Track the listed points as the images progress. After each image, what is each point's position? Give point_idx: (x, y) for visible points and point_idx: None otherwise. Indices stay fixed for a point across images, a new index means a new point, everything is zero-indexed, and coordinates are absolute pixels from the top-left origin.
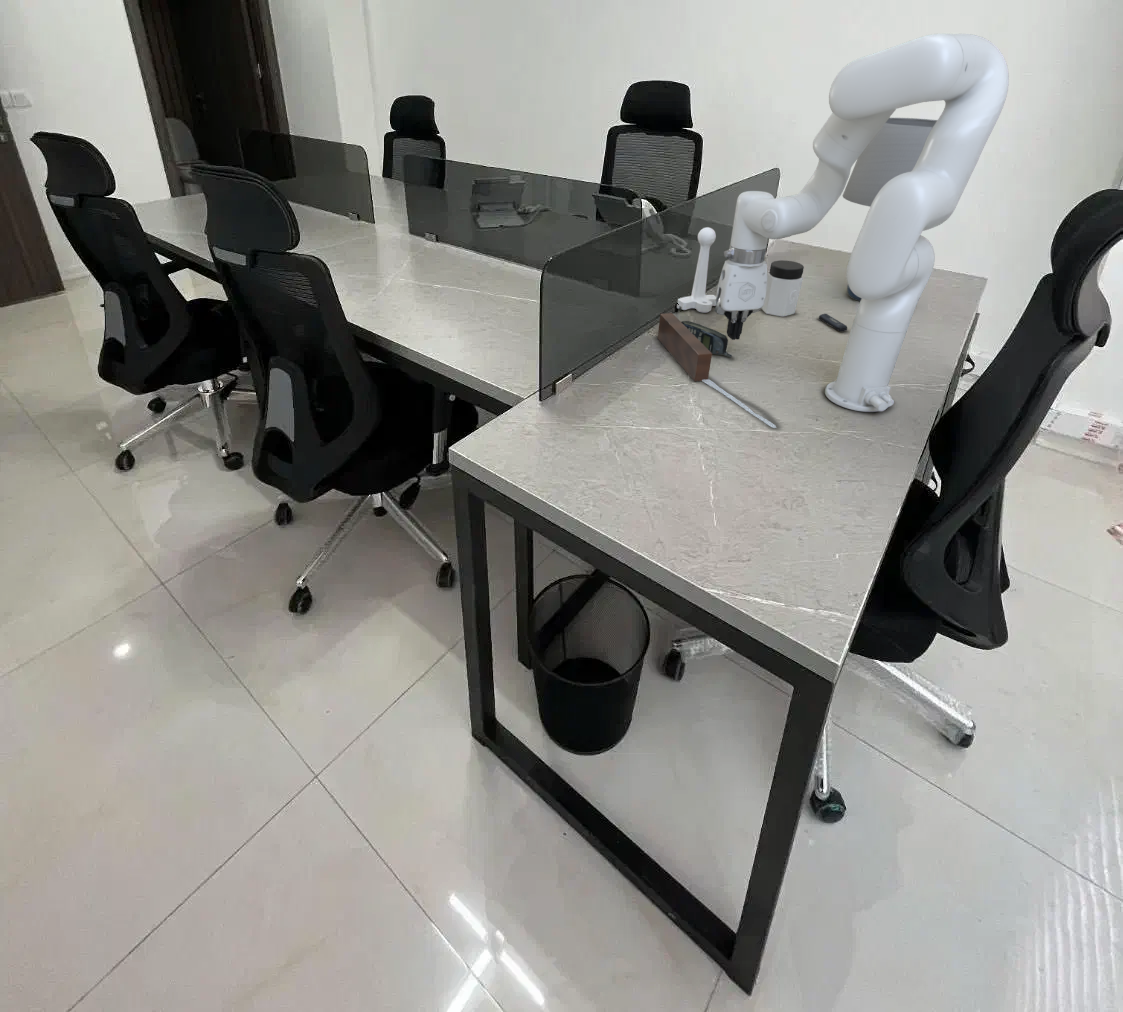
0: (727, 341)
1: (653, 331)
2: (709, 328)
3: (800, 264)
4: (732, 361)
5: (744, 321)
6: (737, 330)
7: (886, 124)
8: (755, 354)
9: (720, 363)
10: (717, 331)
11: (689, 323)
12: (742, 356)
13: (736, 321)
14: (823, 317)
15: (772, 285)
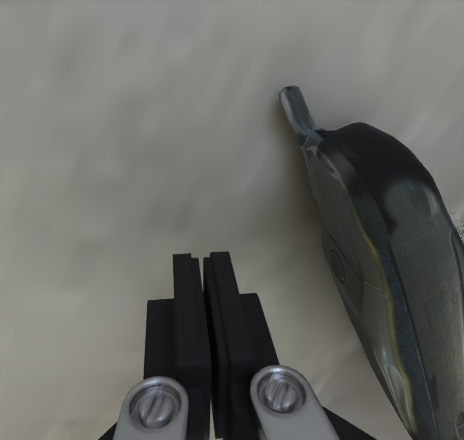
0: (354, 166)
1: None
2: (419, 347)
3: None
4: (293, 35)
5: (142, 387)
6: (204, 308)
7: None
8: (55, 130)
9: (399, 18)
10: (396, 297)
11: (461, 422)
12: (174, 112)
13: (209, 403)
14: None
15: None
